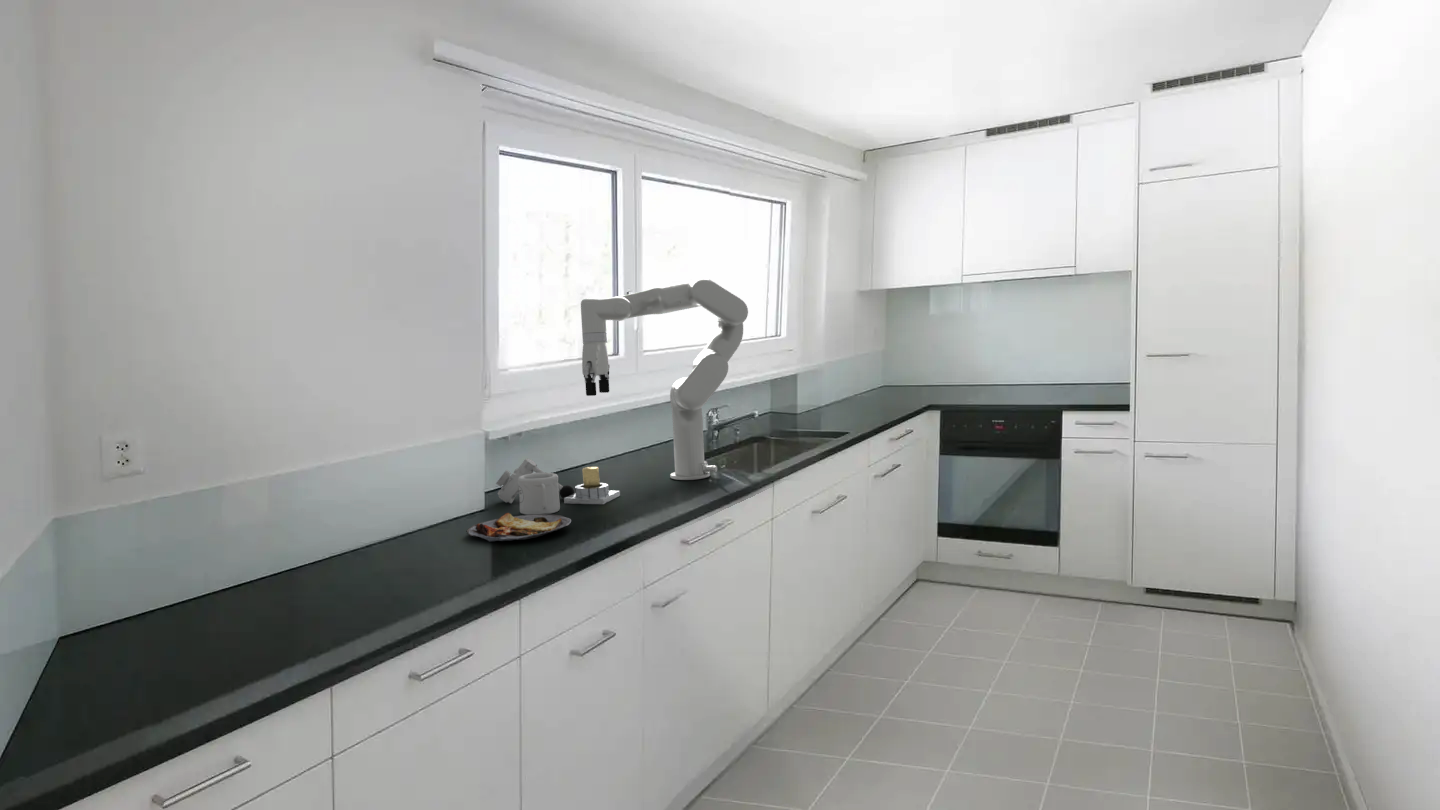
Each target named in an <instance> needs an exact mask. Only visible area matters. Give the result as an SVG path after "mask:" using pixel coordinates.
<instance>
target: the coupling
mask: <svg viewBox="0 0 1440 810" xmlns="http://www.w3.org/2000/svg"><path fill="white" fill-rule="evenodd" d="M599 471H600V470H599V466H587V467H583V468H582V470H581V472H582V480H583V484H584V488H595V487H600V483H601V482H600V472H599Z"/></svg>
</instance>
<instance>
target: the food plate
mask: <svg viewBox="0 0 1440 810" xmlns="http://www.w3.org/2000/svg"><path fill="white" fill-rule="evenodd" d="M571 522H572V519H571V518H570V517H565V516H562V515H561V514H553V513H551V514H545V515H524V514H522V515H515V516H514V515H512V513H510V512H506V513H504V514H503V515H501V516H500V517H499V518H495V519H491V520H487V521H483V522H479V523H477V524H476V523H475V524H473V525H472V526H470V527H469V528H468V529H466V534H468V536H469V537H472V536H473V537H479V538H481V539H484V540H486V541H488V542H489V543H490V542H497V541H498V542H505V541H509V542H510V541H522V540H529V539H535V538H539V537H541V536H544V535H548V534H551V533H553V532H554V531H558V530H561V529H562V528H564V527H566V526H569V525H570V524H571Z"/></svg>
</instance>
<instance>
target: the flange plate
mask: <svg viewBox="0 0 1440 810" xmlns="http://www.w3.org/2000/svg"><path fill="white" fill-rule="evenodd" d="M620 496H621V490H610V486H609V484H608V483H606V482H600V487H595V488H584V483H581V484H577V485H575V486H574V494H572V495H570V496H568V497H566V498H564V499H563V501H564V502H563V503H564V504H570V505H571V504H572V505H573V504H576V505H577V504H578V505H579V504H580V505H605V504H607V503H609V502H610V501H612V500H614V499H617V498H618V497H620Z"/></svg>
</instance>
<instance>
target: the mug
mask: <svg viewBox="0 0 1440 810" xmlns="http://www.w3.org/2000/svg"><path fill="white" fill-rule="evenodd" d="M558 483H559V475H558V474H557V473H553V472H544V473H536V472H533V473H532V474H526V475H522V476H520V477H519V478H518V484H519V494H518V496H519V497H518V500H519V512H520V514H522V515H545V516H546V515H548V514H549V515H550V514H555V513H557V512H558V511H560V510H561V509H560V508H561V504H560V502H561V501H560V490H559V489H558Z"/></svg>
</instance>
